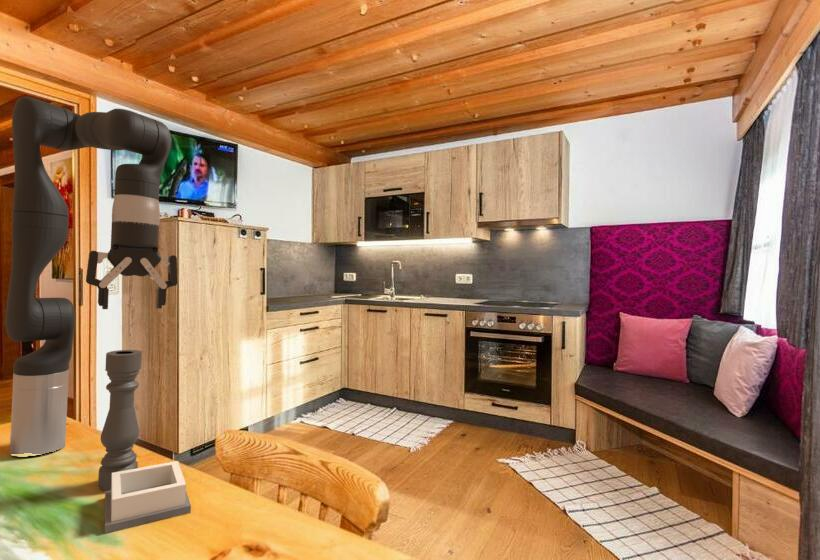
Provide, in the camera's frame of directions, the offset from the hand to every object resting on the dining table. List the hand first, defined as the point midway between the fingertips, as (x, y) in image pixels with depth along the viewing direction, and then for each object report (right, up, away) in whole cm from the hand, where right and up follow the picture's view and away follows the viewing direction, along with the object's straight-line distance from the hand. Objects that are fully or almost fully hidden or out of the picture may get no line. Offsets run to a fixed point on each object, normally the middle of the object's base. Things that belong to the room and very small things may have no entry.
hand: (132, 308), depth 80 cm
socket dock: (+6, -34, -6) cm, 35 cm away
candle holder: (-4, -34, +1) cm, 34 cm away
